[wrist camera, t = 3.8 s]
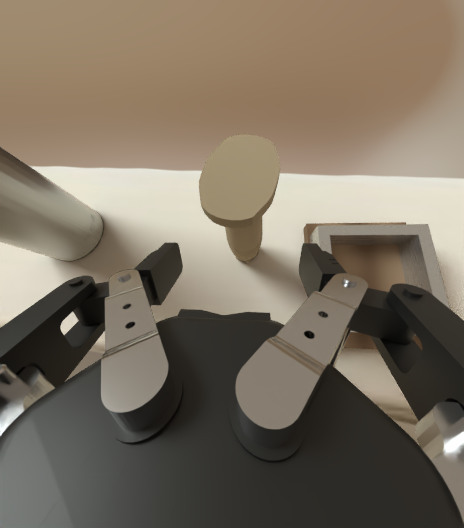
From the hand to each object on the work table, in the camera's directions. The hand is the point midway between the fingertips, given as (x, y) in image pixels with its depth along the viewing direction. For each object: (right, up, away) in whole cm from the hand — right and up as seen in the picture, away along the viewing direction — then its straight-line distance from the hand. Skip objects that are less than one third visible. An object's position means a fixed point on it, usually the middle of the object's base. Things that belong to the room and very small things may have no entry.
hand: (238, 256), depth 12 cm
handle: (+2, +1, +14) cm, 14 cm away
